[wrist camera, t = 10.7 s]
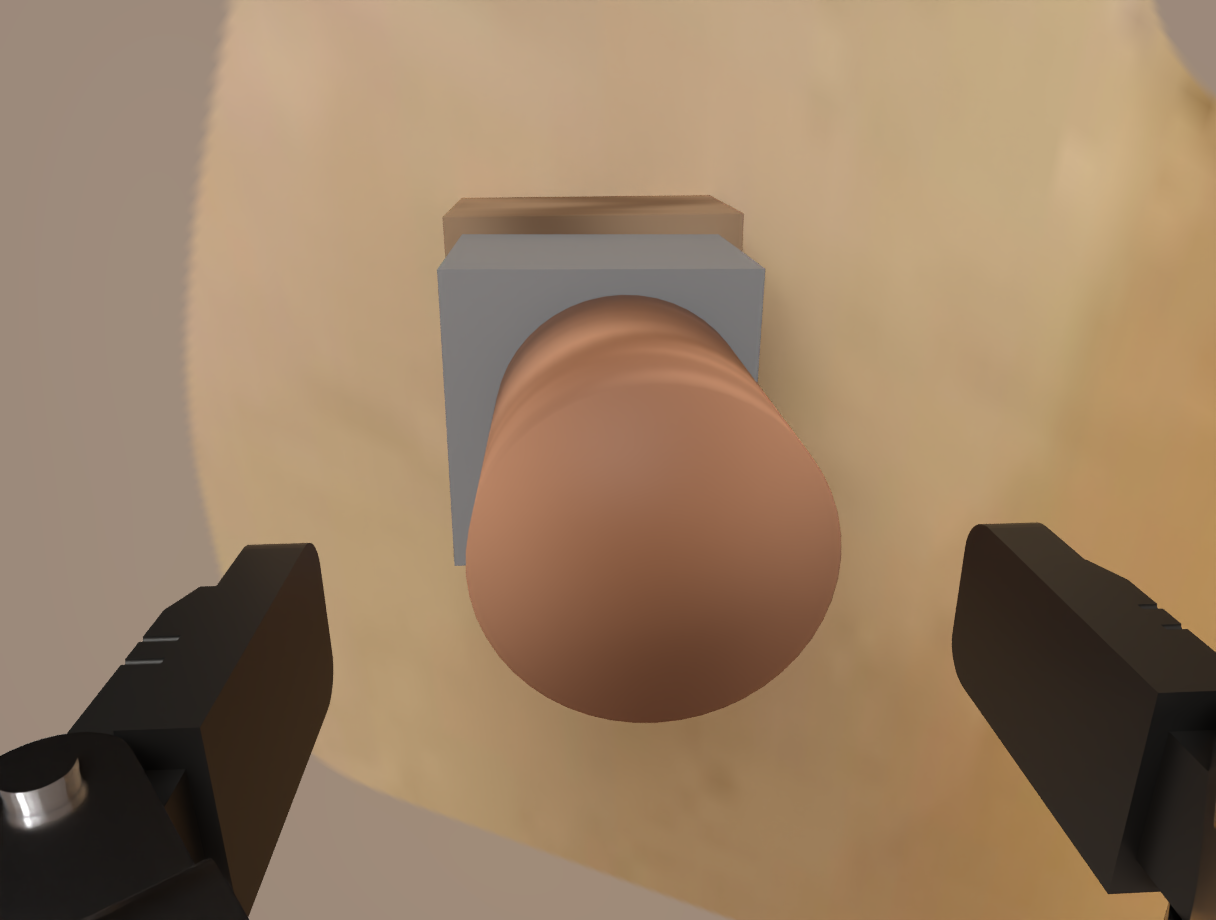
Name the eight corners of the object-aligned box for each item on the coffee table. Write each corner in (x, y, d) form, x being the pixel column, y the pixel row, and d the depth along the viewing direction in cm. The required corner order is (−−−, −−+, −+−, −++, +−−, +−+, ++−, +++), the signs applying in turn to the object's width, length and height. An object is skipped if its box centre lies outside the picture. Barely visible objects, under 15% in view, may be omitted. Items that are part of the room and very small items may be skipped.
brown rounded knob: (755, 290, 17) (853, 376, 11) (747, 534, 19) (830, 712, 13) (485, 299, 17) (449, 392, 11) (503, 545, 18) (480, 731, 13)
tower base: (709, 194, 26) (743, 213, 21) (701, 427, 29) (730, 489, 24) (461, 197, 26) (442, 217, 21) (476, 432, 28) (462, 496, 23)
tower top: (718, 234, 21) (765, 268, 17) (706, 471, 24) (745, 559, 19) (462, 234, 21) (437, 269, 16) (473, 474, 23) (454, 565, 19)
